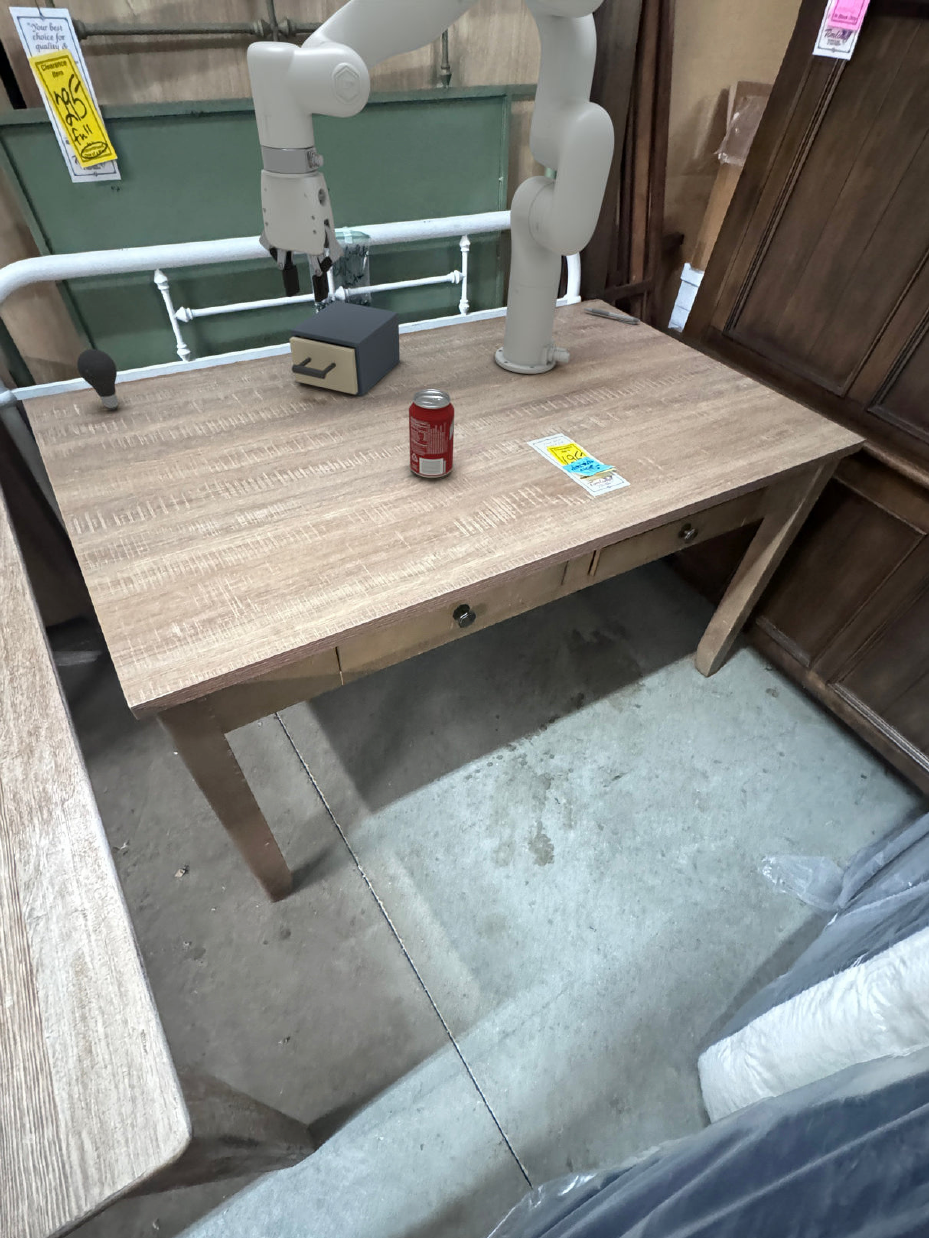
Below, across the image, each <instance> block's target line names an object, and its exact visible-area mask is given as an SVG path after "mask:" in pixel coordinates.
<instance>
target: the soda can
mask: <svg viewBox="0 0 929 1238" xmlns="http://www.w3.org/2000/svg"><path fill="white" fill-rule="evenodd" d="M451 400H452V398H451V396H450V394H449V393H448V392H445V391H443V390H441V389H435V388H434V389H432V388H430V389H429V388H427V389H422V390H418V391H417V392H415V393H414V394H413V395H412V401H411V403H410V405H409V406H408V435H409V436H408V438H409V468H410V470H411V471H412V472H413V473H414V474H416V475H417V476H420V477H423V478H427V479H437V478H441V477H444V476H447V475H448V474H450V473H451V472H452V470H453V468H454V467H453V466H454V440H455V439H454V438H455V437H454V435H455V406H454V405H453V403H452V402H451Z"/></svg>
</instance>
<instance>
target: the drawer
mask: <svg viewBox="0 0 929 1238" xmlns="http://www.w3.org/2000/svg"><path fill="white" fill-rule="evenodd" d="M300 337H301V338H296V337H292V336H291V337H290V338H289V339H288V340H289V346H290V352H291V358H292V364H293V365H292V366H291V371H292V373H294V378H295V382H297V383H302V384H305V385H306V384H307V385H310V386H314V387H319V388H324V389H327V390H328V389H329V390H333V391H338V392H342V393H347V394H351V395H356V393H357V392H358V378H357V366H356V354H355V347H351V346H346V345H341V344H336V343H332V342H327V341H322V340H317V339H312V338H307V337H302V336H300Z"/></svg>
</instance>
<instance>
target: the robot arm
mask: <svg viewBox="0 0 929 1238" xmlns="http://www.w3.org/2000/svg"><path fill="white" fill-rule="evenodd" d="M604 1H605V0H523V2H524V4H525V5H526V7H527V8H528V9H529V11H530V13H531V15H532V18H533V20H534V21H535V24H536V28H537V31H538V34H539V35H538V36H539V42H540V43H539V44H540V60H539V69H538V78H537V84H536V90H535V98H534V103H533V108H532V109H533V110H532V115H531V123H530V128H529V137H528V138H529V139H528V143H529V144H528V145H529V151H530V153H531V156H532V157H533V159H534V160H535V161H536V162H537V163H539V164H540V165H542V166H543V167H545V168H546V169H547V168H548V169H549V170H553V171H555V172H556V175H555V178H553V177H550V176H546V175H534V176H531V177H529V178H527V179H525V180H524V181H523V182H522V183H521V184H520V185H519V186H518V187H517V189H516V191H515V193H514V195H513V197H512V200H511V205H510V215H509V220H510V221H509V222H510V235H511V236H510V237H511V254H510V271H509V279H508V280H509V281H508V292H507V301H506V302H507V303H506V304H507V305H506V313H505V323H504V324H505V325H504V336H503V346H501V347H499V348H498V349H497V350H496V351H495V355H494V361H495V362H496V364H497V365H498V366H499V367H501V368H502V369H505V370H506V371H510V372H513V373H518V374H527V375H528V374H529V375H535V374H542V373H546V372H549V371H550V370H552V369H553V368H554V367H555V365H556V361H557V362H559V363H562V364H563V363H564V364H569V361H570V358H571V353H570V352H568V348H565V347H564V348H563V347H557V345H555V340H556V339H555V338H554V337H552V336H553V329H554V322H555V315H556V308H557V301H558V295H559V294H558V293H559V288H560V281H561V274H562V256H564V257H569V256H574V255H576V254H578V253H580V252H581V251H582V250H584V248H585V247H586V246H587V245H588V243H589V242H590V241H591V239H592V237H593V235H594V232H595V230H596V227H597V224H598V220H599V217H600V212H601V208H602V204H603V200H604V196H605V192H606V187H607V183H608V178H609V175H610V169H611V165H612V161H613V156H614V151H615V131H614V130H615V129H614V124H613V121H612V119H611V117H610V115H609V113H608V112H607V110H606V109H605V108H604V107H602V106H600V105H599V104H598V103H595V102H592V101H590V97H591V91H592V90H591V89H592V84H593V78H594V73H595V67H596V66H595V65H596V59H597V31H596V24H595V19H594V14H593V13H594V12H596V10H597V9H599V7H600V6H601V5H602V4H603V2H604ZM478 2H480V0H349V1H348V2H347V3H345V4H344V5H343V6H342V7H341V8H339V9H338V10H337V11H335V12H334V13H333V14H332V15H331V16H330V17H329V18H328V19H327V20H325V22H324V23H322V24H321V25H320V26H319V27H318V28H316V30H315V31H314V32H312V33H311V35H309V37H308V38H307V39H305V41H304V42H303V43H302V45H301V47H300V46H299V45H297V44H294V43H290V42H285V41H284V42H283V41H256V42H252V43H250V44H249V46H248V47H247V50H246V63H247V69H248V75H249V83H250V88H251V94H252V101H253V108H254V113H255V119H256V120H255V121H256V127H257V132H258V133H257V134H258V140H259V145H260V146H259V147H260V151H261V160H262V166H263V169H261V171H260V200H261V211H262V219H263V229H262V232H261V234H260V236H259V238H258V242H259V244H260V245H261V246H262V247H263V248H264V249H265V250H266V251H267V252H268V253H269V255H270V256H271V258H272V259H273V260H274V261H275V262H276V266H277V268H278V269H279V270H281V273H282V274H281V275H282V280H283V281H282V282H283V287H284V289H285V295H286V297H287V298H292V297H293V296H295V295H297V294H299V293H300V292H301V288H300V287H301V286H300V281H299V280H300V279H299V273H298V267H297V265H296V264H294V255H295V254H294V252H296V253H301V254H307V255H308V256H309V259H310V262H311V265H312V269H313V272H314V274H313V275H312V276H311V281H312V289H313V296H314V301H315V303H318V304H320V303H322V302H323V301H325V300H326V299H328V298H329V293H330V289H329V280H328V279H329V278H328V272H329V271H330V269H331V268H332V267H333V265H334V264H335V263H336V262H337V261H338V260H340V259H341V258H342V257H343V256H344V255H345V252H344V249H343V248H342V246H341V245H340V243H339V241H338V239H337V238H336V228H335V227H336V226H335V221H334V215H333V208H332V204H331V199H330V194H329V189H328V187H327V183H326V179H325V176H324V173H323V172H320V171H319V170H318V169H319V167H323V166H324V163H325V162H324V161H325V160H324V156H323V155H322V154H318V153H317V147H316V145H315V134H314V125H313V115H312V114H317V115H324V116H330V117H335V118H349V117H352V116H356V115H357V114H359V113H360V112H361V111H362V110H363V109H364V108H365V106H366V104H367V103H368V101H369V98H370V93H371V77H370V73H369V72H370V71H371V70H372V69H374V68H375V67H377V66H378V65H380V64H382V63H383V62H385V61H387V60H389V59H391V58H394V57H396V56H399V55H402V54H405V53H411V52H414V51H417V50H419V49H422V48H424V47H426V46H428V45H430V44H432V43H433V42H435V41H436V40H437V39H438V38H440V36H442V34H443V33H445V32H446V31H447V30H448V29H449V28H450V27H451V26H452V25H454V23H456V22H457V21H458V20H459V19H460V18H461V17H462V16H463V15H464V14H466V13H467V12H468V11H469V10H470V9H471V8H473V6H475V5H477V3H478ZM326 249H329V254H327V253H326Z"/></svg>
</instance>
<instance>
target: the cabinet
mask: <svg viewBox="0 0 929 1238" xmlns="http://www.w3.org/2000/svg"><path fill="white" fill-rule="evenodd" d="M399 321H400V320H399V312H398V311H393V310H387V309H382V308H376V307H371V306H366V305H361V304H355V303H350V302H344V301H340V300H334V301H332V302H331V303H330V304H328V305H327V306H325V307H324V308H322V309H320V310H319V311H317V312H316V313H314V314H312V316H311V315H310V317H308V318H306V319H305V320H304V321H302V322H301V323H299V324H297V325H295V326H294V327H293V328H291V329H290V334H291V335H290V336H291V338H292V337H296V338H301V337H300V336H302V337H307V338H312V339H317V340H322V341H327V342H332V343H336V344H341V345H346V346H351V347H355V354H356V366H357V378H358V392H357V393H356V394H355V395H357V396H361V397H363V396H364V395H365V394H367V393H368V392H369V391H370V390H371V389H372V388H373V387H374V386H375V385H377V384H378V382H380V381H381V380H382V379H383V378H384V377H385V376H386V375H387V374H389V373H390V372H391V371H392V370H393V369H394V368H395V367H396V366H397V365H398V364H399V363H400V362H401V354H400V353H401V352H400V350H401V349H400V324H399V323H400V322H399Z"/></svg>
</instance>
